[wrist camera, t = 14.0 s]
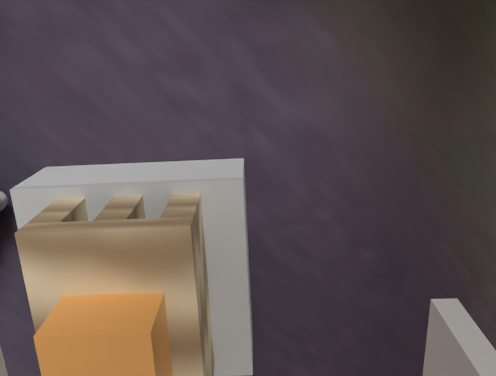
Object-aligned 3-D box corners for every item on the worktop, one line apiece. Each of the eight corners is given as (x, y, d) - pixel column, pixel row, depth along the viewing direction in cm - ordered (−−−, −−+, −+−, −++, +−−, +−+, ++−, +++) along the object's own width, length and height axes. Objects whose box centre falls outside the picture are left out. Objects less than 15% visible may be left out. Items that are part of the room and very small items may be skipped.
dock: (45, 166, 38) (9, 189, 32) (243, 158, 37) (242, 179, 32) (76, 336, 42) (50, 382, 37) (252, 329, 42) (252, 375, 37)
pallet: (56, 199, 32) (14, 233, 26) (200, 192, 32) (190, 226, 26) (86, 368, 36) (56, 430, 31) (214, 363, 36) (208, 424, 30)
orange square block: (63, 295, 28) (33, 336, 24) (164, 292, 28) (150, 333, 24) (77, 379, 29) (52, 430, 26) (172, 376, 29) (161, 426, 26)
